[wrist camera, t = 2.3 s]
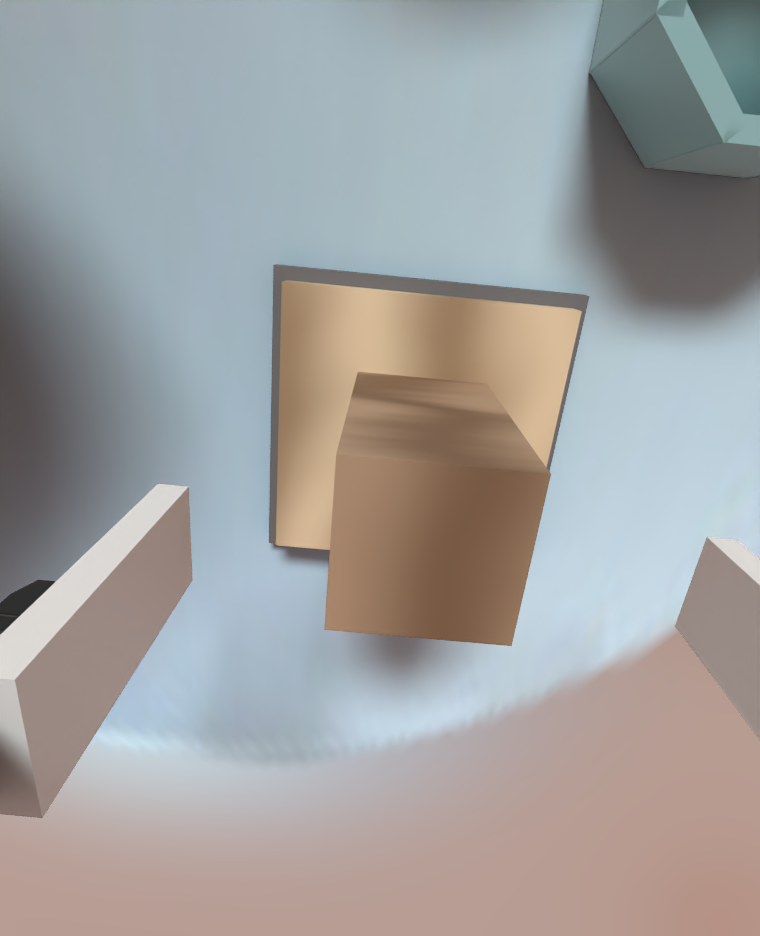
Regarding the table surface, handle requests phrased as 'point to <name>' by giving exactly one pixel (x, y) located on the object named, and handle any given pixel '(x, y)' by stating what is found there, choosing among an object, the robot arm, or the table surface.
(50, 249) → the table surface
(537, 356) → the lid
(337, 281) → the mat
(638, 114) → the bowl
